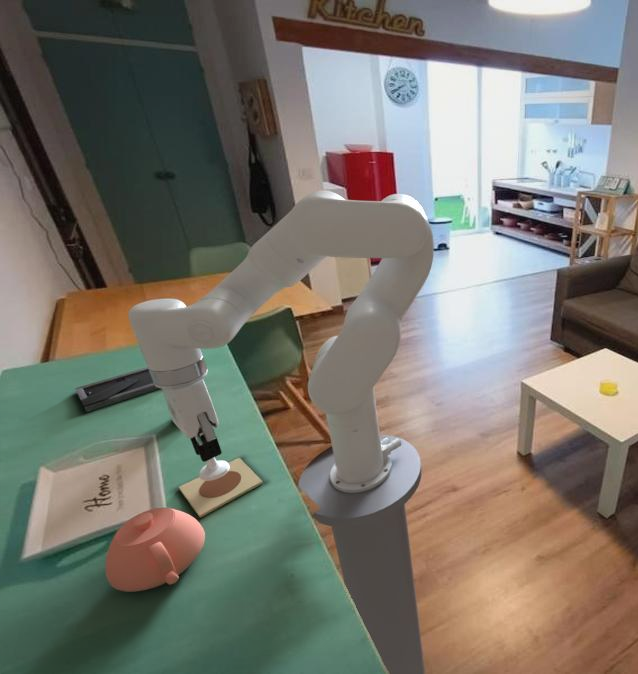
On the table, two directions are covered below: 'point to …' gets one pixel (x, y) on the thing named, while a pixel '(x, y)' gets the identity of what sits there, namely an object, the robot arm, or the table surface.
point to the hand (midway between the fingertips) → (209, 453)
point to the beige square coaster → (220, 488)
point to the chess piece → (213, 469)
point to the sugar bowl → (153, 549)
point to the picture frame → (116, 389)
